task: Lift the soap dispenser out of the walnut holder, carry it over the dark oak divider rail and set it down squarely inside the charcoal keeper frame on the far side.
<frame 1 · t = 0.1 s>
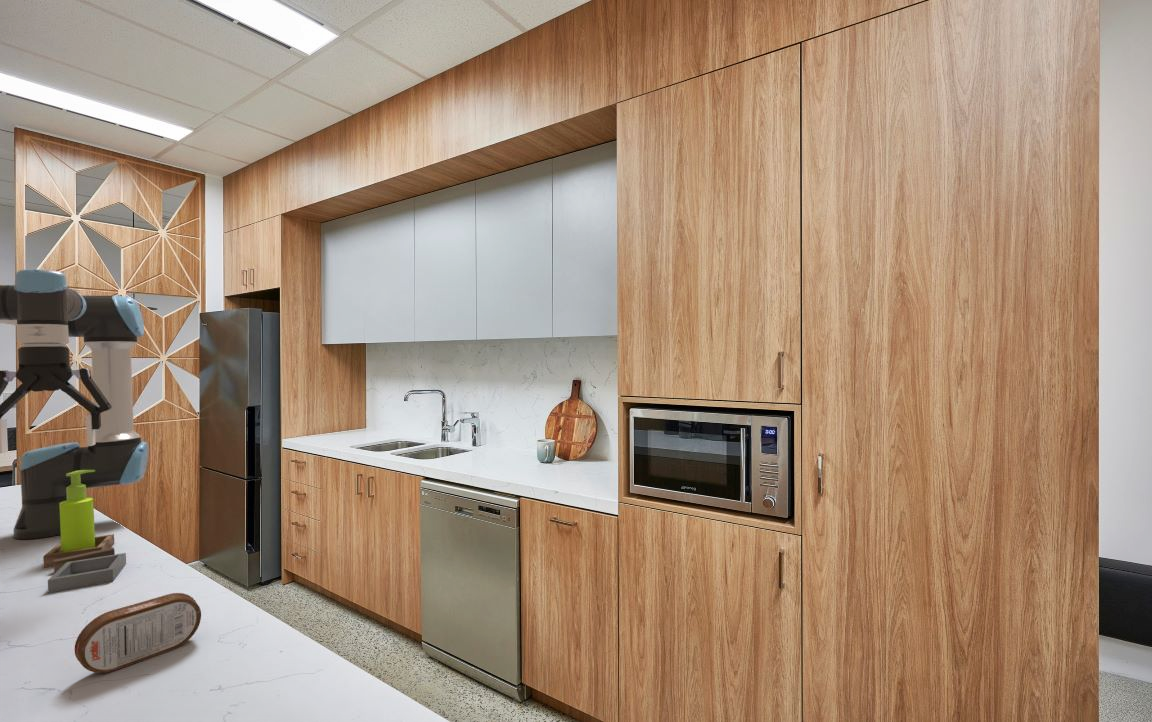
hand: (48, 449, 111), 28 cm above the countertop, fingers open, 13 cm apart
tin: (143, 659, 82), on the countertop
walnut holder: (81, 555, 128), on the countertop
keeper frame: (89, 577, 114), on the countertop
door edge rail: (85, 565, 121), on the countertop
soap dispenser: (81, 555, 128), resting in walnut holder
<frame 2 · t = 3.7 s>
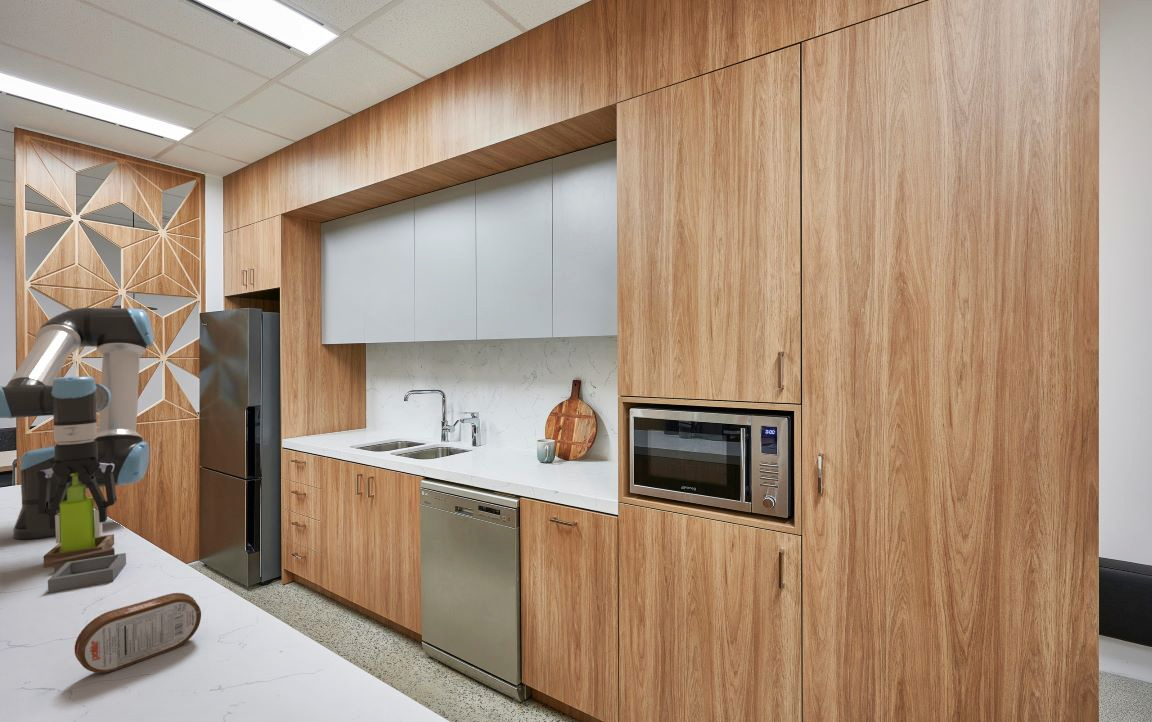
hand: (79, 538, 128), 4 cm above the countertop, fingers open, 6 cm apart
soap dispenser: (81, 555, 128), resting in walnut holder, touching gripper
everything else where it was.
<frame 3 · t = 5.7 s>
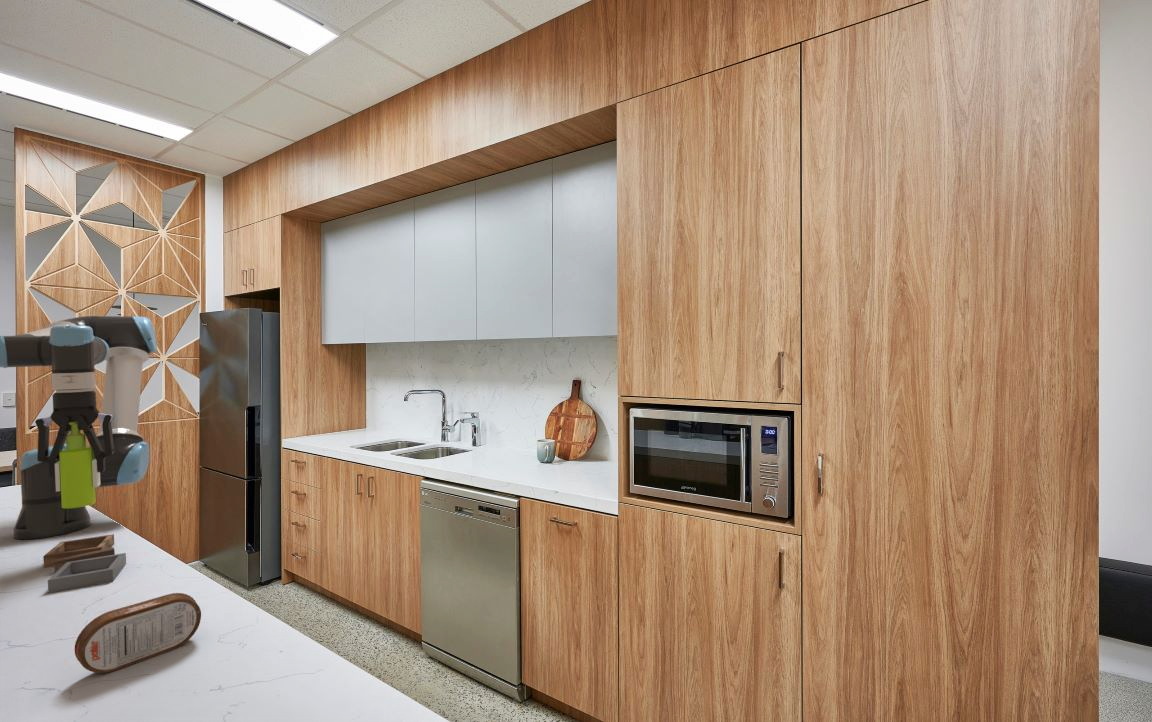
hand: (78, 487, 128), 16 cm above the countertop, fingers closed on soap dispenser, 6 cm apart
soap dispenser: (81, 505, 128), point 12 cm above the countertop, touching gripper
everything else where it was.
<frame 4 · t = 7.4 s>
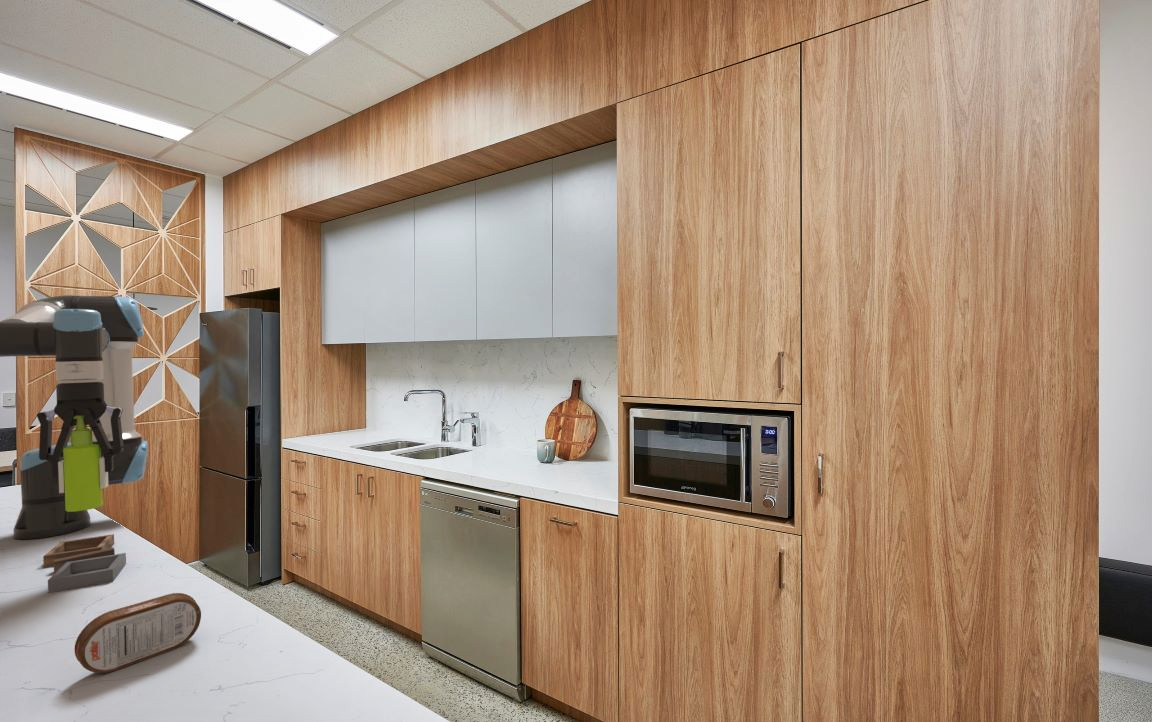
hand: (84, 489, 115), 18 cm above the countertop, fingers closed on soap dispenser, 6 cm apart
soap dispenser: (87, 508, 116), point 14 cm above the countertop, touching gripper
everything else where it was.
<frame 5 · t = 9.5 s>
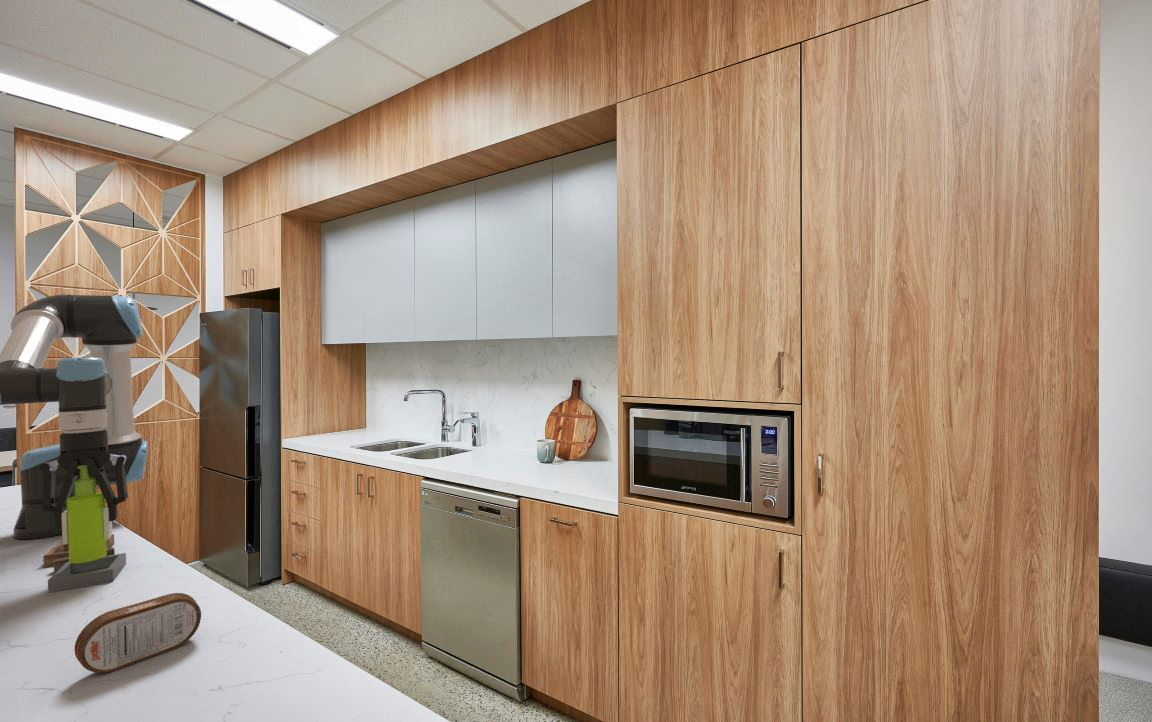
hand: (88, 539, 114), 8 cm above the countertop, fingers closed on soap dispenser, 6 cm apart
soap dispenser: (90, 558, 114), point 4 cm above the countertop, touching gripper
everything else where it was.
when the fingers open (5 cm above the countertop, at t = 11.1 s): soap dispenser drops 1 cm, resting in keeper frame.
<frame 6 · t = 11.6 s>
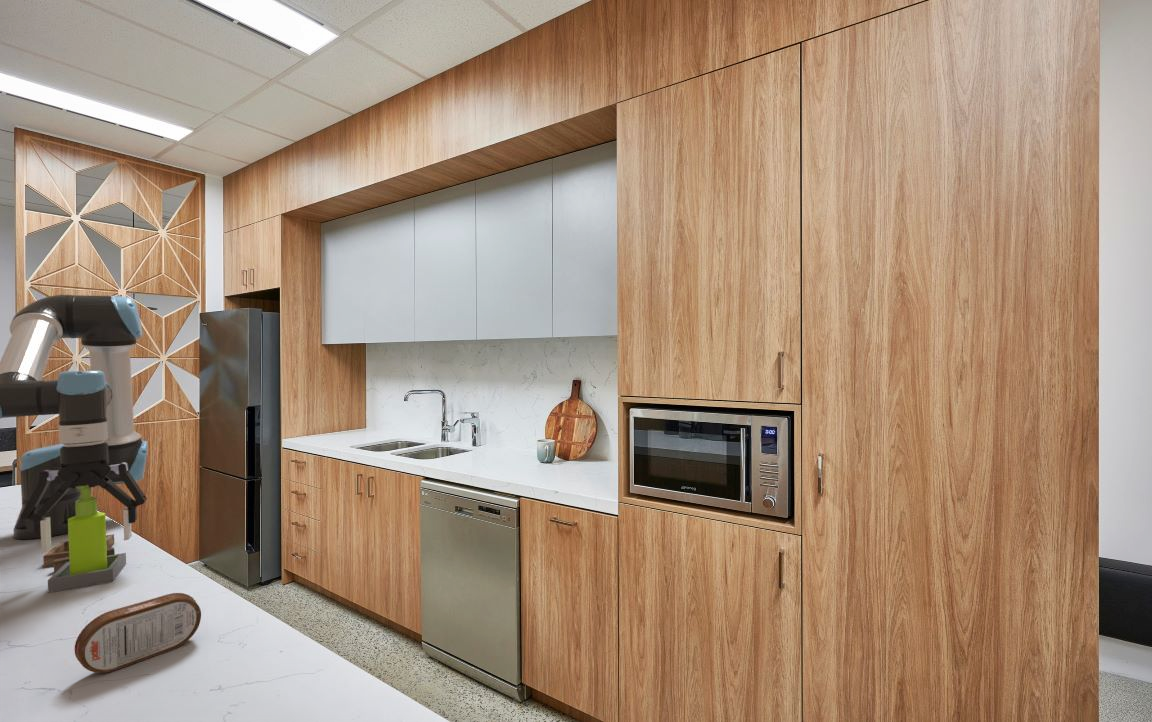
hand: (88, 544, 114), 7 cm above the countertop, fingers open, 12 cm apart
soap dispenser: (91, 577, 114), resting in keeper frame
everything else where it was.
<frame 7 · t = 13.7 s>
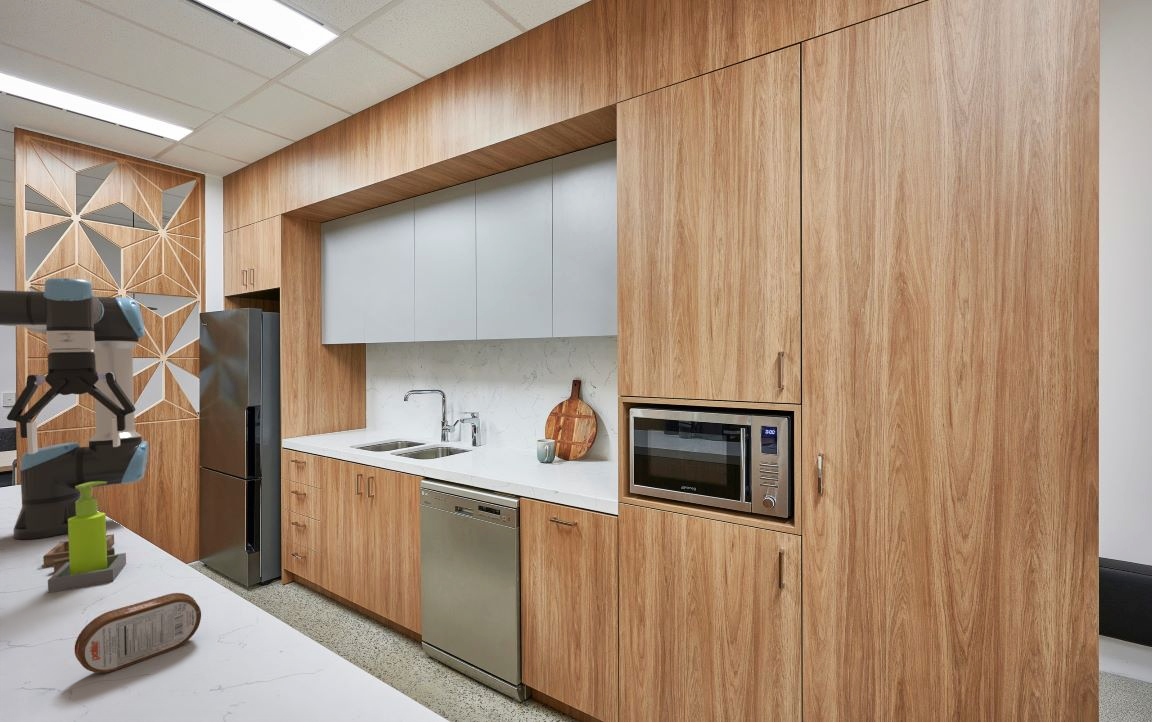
hand: (76, 449, 116), 27 cm above the countertop, fingers open, 13 cm apart
nothing on the countertop moved.
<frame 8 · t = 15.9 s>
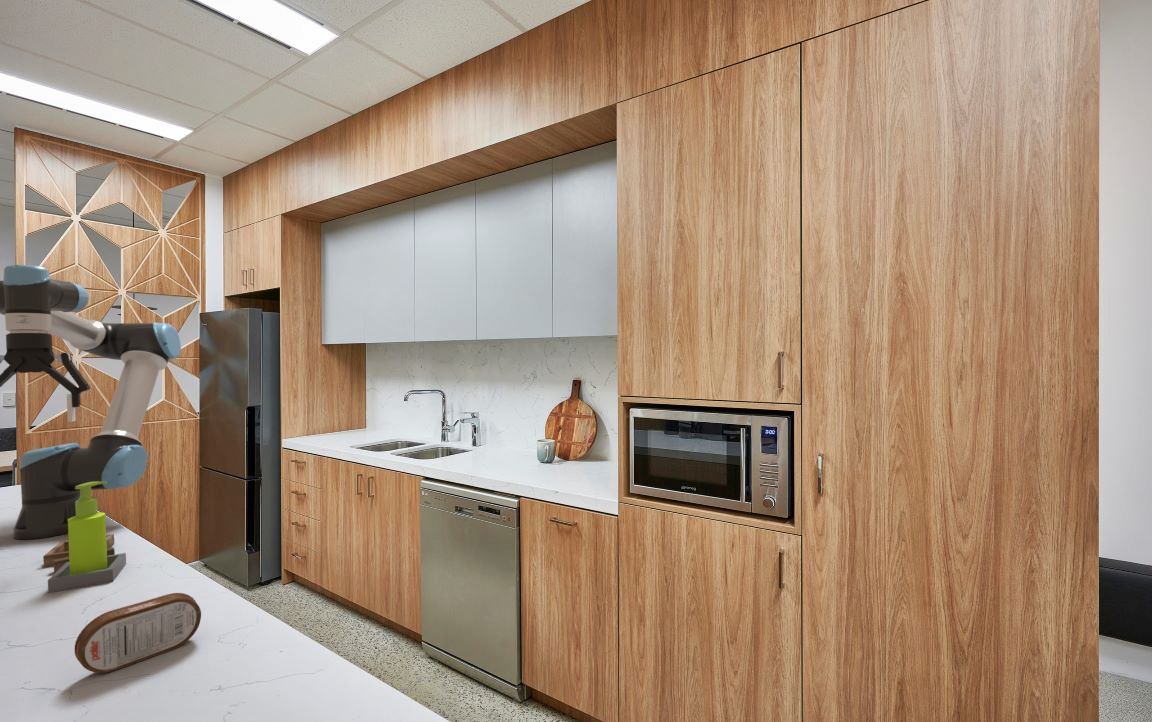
hand: (33, 424, 125), 32 cm above the countertop, fingers open, 13 cm apart
nothing on the countertop moved.
at the end: soap dispenser 0.3 cm off-centre on the keeper frame, point 0.0 cm above the keeper frame's base; soap dispenser tilted 0°; the gripper is holding nothing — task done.
